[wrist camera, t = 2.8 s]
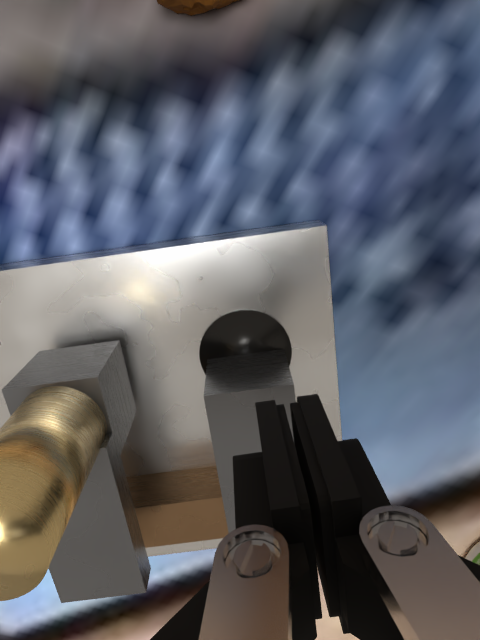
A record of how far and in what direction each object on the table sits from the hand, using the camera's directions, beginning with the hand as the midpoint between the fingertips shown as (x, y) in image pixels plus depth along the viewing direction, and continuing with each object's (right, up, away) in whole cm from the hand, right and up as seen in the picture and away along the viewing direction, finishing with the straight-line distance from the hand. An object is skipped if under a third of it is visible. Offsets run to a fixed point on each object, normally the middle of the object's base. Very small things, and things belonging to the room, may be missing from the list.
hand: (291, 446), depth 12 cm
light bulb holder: (-7, -1, +6) cm, 9 cm away
